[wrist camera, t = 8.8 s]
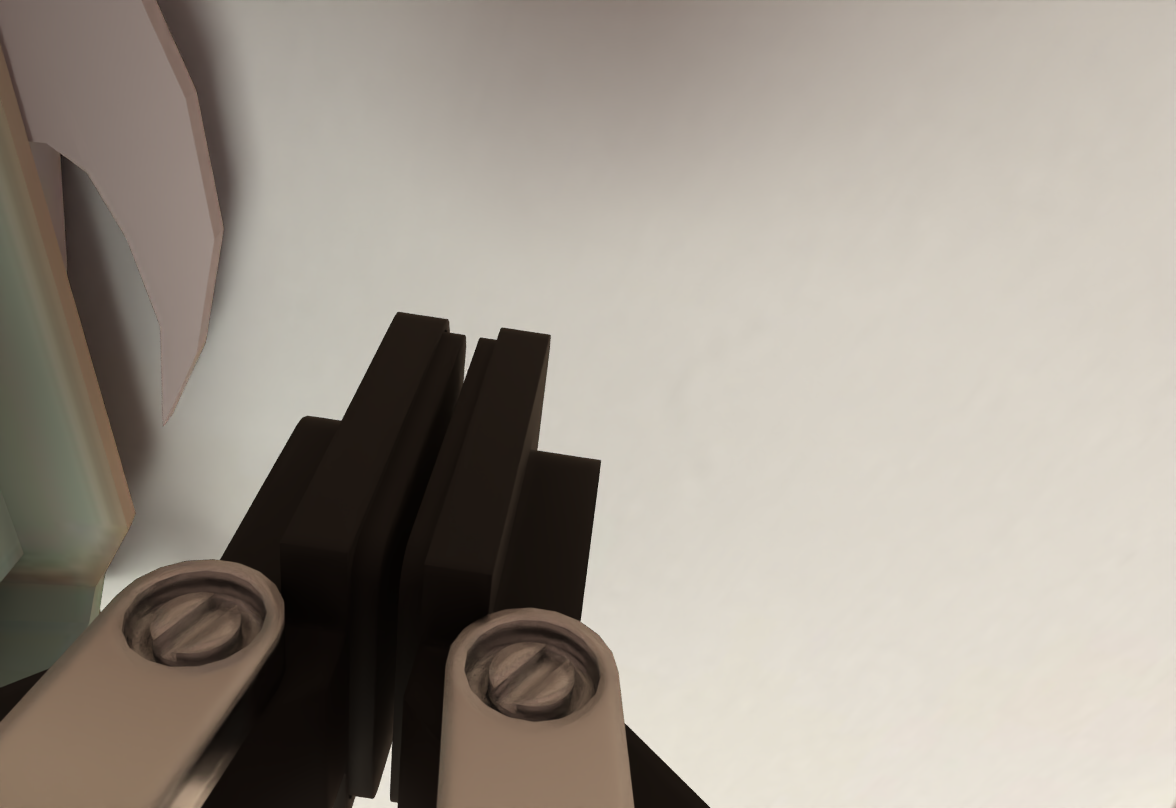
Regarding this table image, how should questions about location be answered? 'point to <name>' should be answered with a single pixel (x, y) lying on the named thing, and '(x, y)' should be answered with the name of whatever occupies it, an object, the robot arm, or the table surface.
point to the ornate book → (46, 304)
